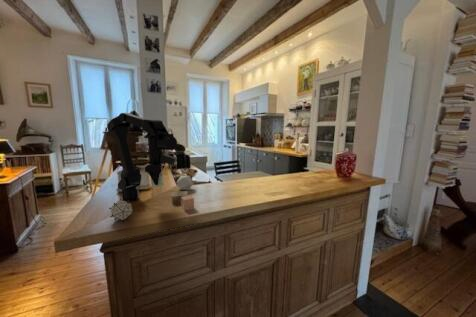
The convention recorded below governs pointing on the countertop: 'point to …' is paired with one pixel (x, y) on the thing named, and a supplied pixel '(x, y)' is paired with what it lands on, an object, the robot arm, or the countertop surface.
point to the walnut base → (178, 196)
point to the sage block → (160, 182)
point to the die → (184, 183)
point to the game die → (121, 210)
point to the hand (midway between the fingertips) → (157, 183)
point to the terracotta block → (187, 202)
